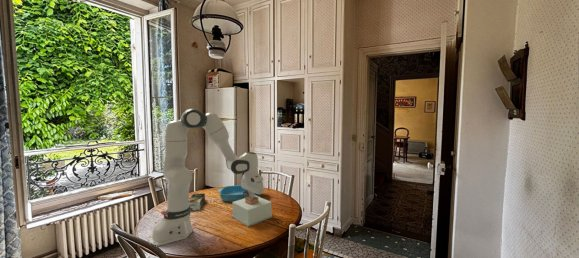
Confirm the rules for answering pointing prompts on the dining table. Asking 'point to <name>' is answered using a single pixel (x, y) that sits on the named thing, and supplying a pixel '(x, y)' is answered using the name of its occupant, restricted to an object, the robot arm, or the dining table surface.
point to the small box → (247, 194)
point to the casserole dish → (232, 193)
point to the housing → (252, 211)
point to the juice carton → (196, 201)
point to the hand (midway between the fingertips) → (251, 197)
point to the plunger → (251, 200)
